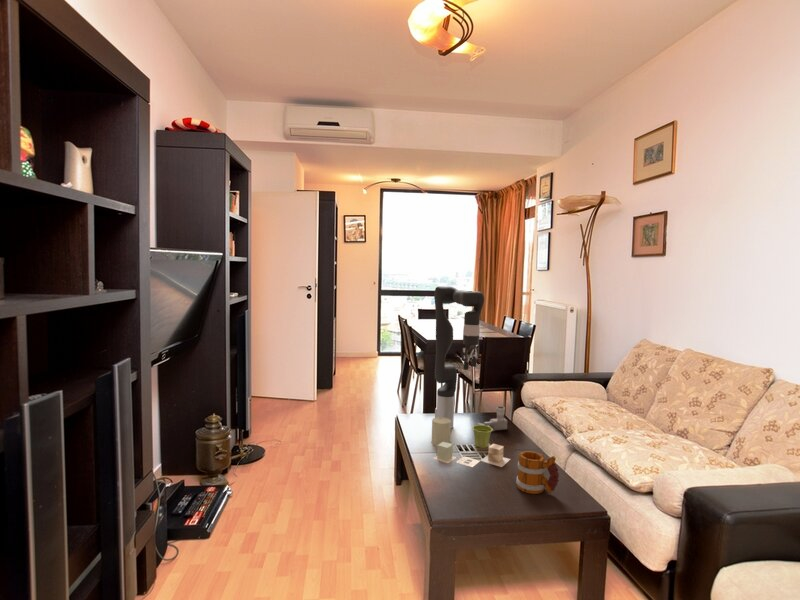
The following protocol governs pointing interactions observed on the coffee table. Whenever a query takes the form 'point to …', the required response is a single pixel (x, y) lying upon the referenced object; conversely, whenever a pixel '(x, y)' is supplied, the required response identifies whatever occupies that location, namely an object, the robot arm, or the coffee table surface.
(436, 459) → the code tile
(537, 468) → the mug
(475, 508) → the coffee table surface
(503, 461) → the felt pad
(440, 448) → the sage block
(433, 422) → the can
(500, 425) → the camera
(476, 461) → the code tile
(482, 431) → the plant pot
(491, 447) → the beech block
